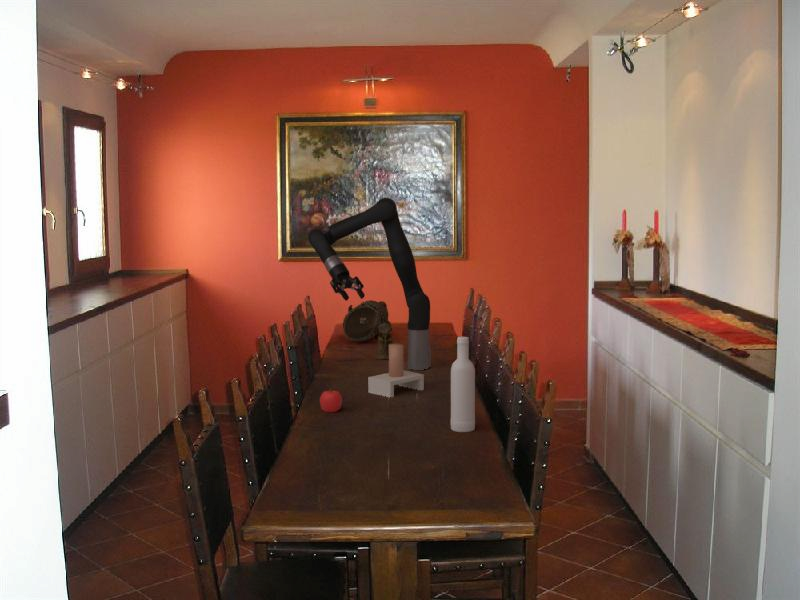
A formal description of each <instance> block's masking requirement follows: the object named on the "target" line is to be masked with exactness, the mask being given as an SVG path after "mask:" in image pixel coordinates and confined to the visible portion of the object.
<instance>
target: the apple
mask: <svg viewBox="0 0 800 600" xmlns="http://www.w3.org/2000/svg"><path fill="white" fill-rule="evenodd" d="M342 403H343V397H342V395H341V393H340V391H338V390H332V388H330V389H329V390H326V391H325V390H324V391H323V392H322V394H321V395H320V396H319V404H320V408H321V410H322V411H323V412H325V413H336V412H338V411H339V410H340V409H341V408H342Z"/></svg>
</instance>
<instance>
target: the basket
mask: <svg viewBox="0 0 800 600" xmlns="http://www.w3.org/2000/svg"><path fill="white" fill-rule="evenodd" d="M387 306H388V305H387V303H386V302H385V301H376V300H366V301H361V303H360V304H358V305H357V306H354V308H353V305H352V304H350V305H349V306H348V309H347V313H346V314H345V317H344V318H343V321H342V328H343V332H344V334H345V335H346V337H347V338H348V339H350V340H352V341H355V342H366V341H369V340H370V339H372V338H373V337H374V338H375V340H377V341H378V336H379V334H380V333H381V332H380V331H379V329H378V327H379V325H380V324H382V323H384V322H386V323H388V324H390V325H391V326H392V323H391V322H390V320H389V310H388V307H387ZM392 331H393V329H392V330H391V331H390V332H392Z"/></svg>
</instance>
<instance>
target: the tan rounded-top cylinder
mask: <svg viewBox="0 0 800 600" xmlns="http://www.w3.org/2000/svg"><path fill="white" fill-rule="evenodd" d="M403 370H404V344H402V343H393V344H389V360H388V373H389V376H390V377H402V376H403Z"/></svg>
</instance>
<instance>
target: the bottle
mask: <svg viewBox="0 0 800 600" xmlns="http://www.w3.org/2000/svg"><path fill="white" fill-rule="evenodd" d="M456 344H457V347H456V348H457V353H456V355H457V356H456V357H457V358H456V360H455V361H454V362H453V363H452V364H451V368H450V430H451V431H453V432H458V433H470V432H473V431H474V430H475V429H476V427H475V426H476V418H475V417H476V416H475V414H476V369H475V366H474V363H473V362H472V361H471V359H469V357H470V355H469V348H470V346H469V344H470V341H469V337H468V336H458V337H457V340H456Z"/></svg>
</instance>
